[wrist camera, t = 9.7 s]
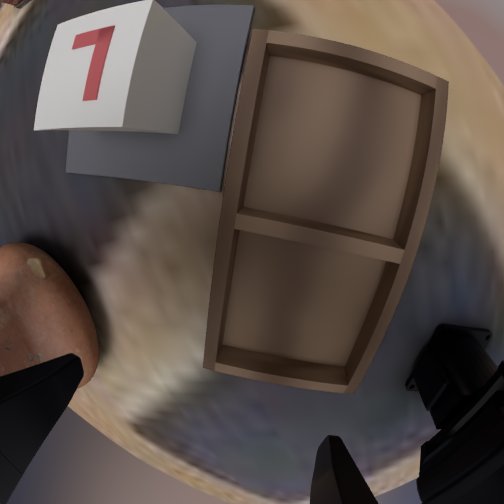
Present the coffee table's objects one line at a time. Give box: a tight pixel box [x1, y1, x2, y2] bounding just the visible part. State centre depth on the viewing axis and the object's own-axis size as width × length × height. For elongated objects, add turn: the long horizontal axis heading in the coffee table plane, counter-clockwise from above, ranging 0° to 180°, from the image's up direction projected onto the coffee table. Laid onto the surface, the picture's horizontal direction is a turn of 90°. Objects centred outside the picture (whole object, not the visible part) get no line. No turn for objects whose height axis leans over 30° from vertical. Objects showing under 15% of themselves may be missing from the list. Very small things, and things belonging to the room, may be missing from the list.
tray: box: [203, 29, 449, 394], centre depth 15 cm, size 11×20×2 cm, turn 171°
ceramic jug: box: [0, 242, 99, 388], centre depth 15 cm, size 18×14×14 cm
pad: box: [66, 5, 255, 192], centre depth 14 cm, size 12×12×1 cm
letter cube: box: [34, 0, 197, 134], centre depth 11 cm, size 6×6×6 cm
